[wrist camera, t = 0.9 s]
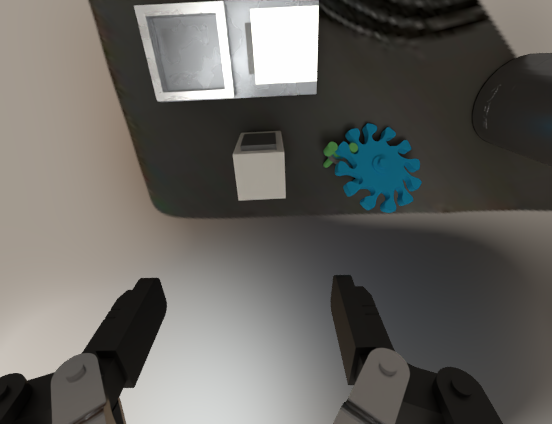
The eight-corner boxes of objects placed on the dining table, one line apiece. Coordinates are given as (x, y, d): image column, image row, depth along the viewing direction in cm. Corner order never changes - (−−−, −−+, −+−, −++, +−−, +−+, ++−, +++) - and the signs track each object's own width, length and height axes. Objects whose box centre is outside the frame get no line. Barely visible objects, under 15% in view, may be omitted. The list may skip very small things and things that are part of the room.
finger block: (280, 126, 30) (284, 146, 23) (282, 168, 33) (285, 198, 26) (240, 128, 30) (231, 148, 23) (244, 170, 33) (238, 200, 26)
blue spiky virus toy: (433, 145, 30) (415, 225, 27) (399, 167, 36) (380, 235, 33) (346, 100, 29) (317, 178, 26) (324, 130, 35) (298, 197, 31)
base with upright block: (316, -3, 25) (339, -31, 17) (314, 92, 29) (332, 105, 21) (142, 7, 25) (83, -17, 17) (163, 100, 29) (124, 116, 21)
